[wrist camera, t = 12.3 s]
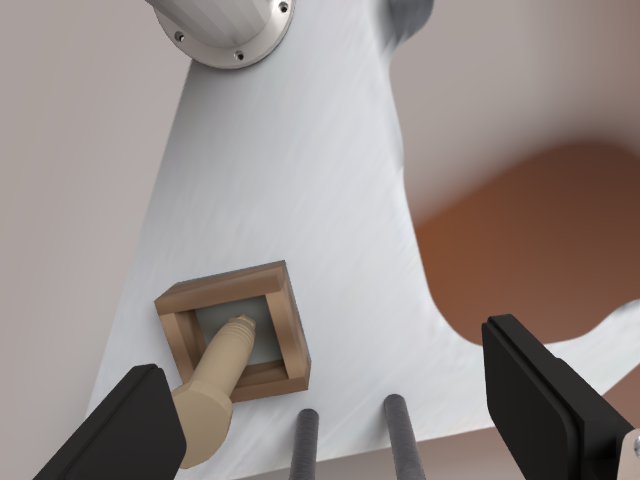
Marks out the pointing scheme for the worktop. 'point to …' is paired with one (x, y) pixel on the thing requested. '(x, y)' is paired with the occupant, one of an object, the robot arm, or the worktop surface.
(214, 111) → the worktop surface
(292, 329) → the socket
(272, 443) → the worktop surface
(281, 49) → the worktop surface
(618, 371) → the worktop surface
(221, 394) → the handle
